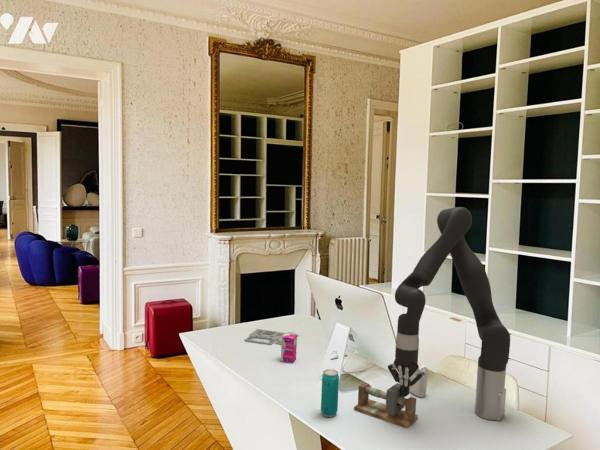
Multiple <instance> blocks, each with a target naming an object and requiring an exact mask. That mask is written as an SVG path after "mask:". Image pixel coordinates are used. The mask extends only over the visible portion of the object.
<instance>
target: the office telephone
mask: <svg viewBox="0 0 600 450" xmlns="http://www.w3.org/2000/svg"><path fill="white" fill-rule="evenodd" d="M284 334H294V335H297V338H298V337H299V336H300V335H299V334H296V333H295V332H293V331H288V332H283V331H282V332H281V331H273V330H266V329H261V328H256V329H255V330H253V331H252V332H251V333H250V334H249V336H248V337H246V338H244V342H246V343H251V344H260V345H266V346H272V345H273V344H275V345H276V346H277V345H278V346H281V344H282V337H283V335H284ZM254 339H255V340H254ZM256 339H258V340H266V341H258V340H256Z"/></svg>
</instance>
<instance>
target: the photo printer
mask: <svg viewBox="0 0 600 450" xmlns="http://www.w3.org/2000/svg"><path fill="white" fill-rule="evenodd" d="M418 366H419V368H418V369H419V370H420V371H421V372H424V373H425V375H424V376H423V377H422V378H421V379H420V380H418V381H417V382H416V383H415V384H414V385H413V386H410V391H409V393H411V394H413V395H415V396H416V397H419V398H424V397H426V395H427V383H428V368H427V366H425V365H424V364H423V363H421V362H420V361H418ZM415 377H416V372H415V373H414V374H413V375H412V378H411V381H412V380H413V379H414V378H415Z"/></svg>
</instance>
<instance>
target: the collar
mask: <svg viewBox="0 0 600 450" xmlns="http://www.w3.org/2000/svg"><path fill="white" fill-rule="evenodd" d="M386 392H387V395H386V400H385V401H386V402H385V404H386V413H387V414H390V415H393V416H394V415H395V414H396V413H398V412H399V411H400V410H403V409H404V408H405V406H404V405H401V404H398V403H397V397H398V396H400V397H403V398H405V397H404V396H401V394H400V383H398V382H396V383H395V384H394V385H392V386H391V387H389V388H387V389H386Z"/></svg>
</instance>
